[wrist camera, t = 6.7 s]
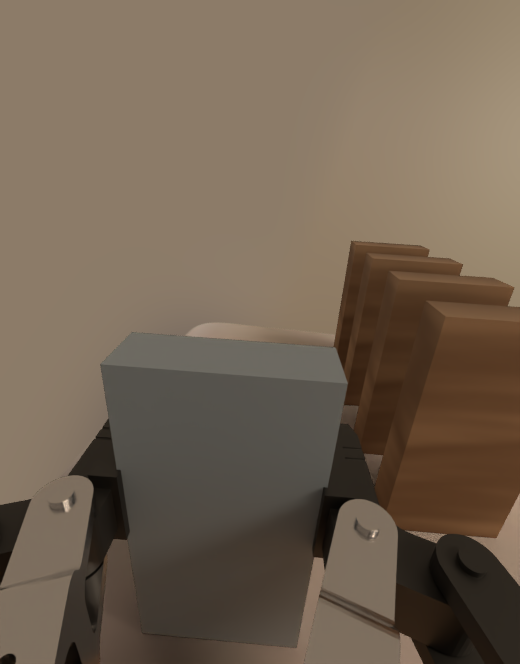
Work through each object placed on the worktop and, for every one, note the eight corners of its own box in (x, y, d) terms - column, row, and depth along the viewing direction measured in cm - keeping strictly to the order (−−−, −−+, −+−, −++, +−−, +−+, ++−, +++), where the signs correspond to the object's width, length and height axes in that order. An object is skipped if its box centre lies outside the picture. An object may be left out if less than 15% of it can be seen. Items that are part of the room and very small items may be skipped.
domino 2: (396, 375, 27) (429, 249, 23) (334, 370, 27) (355, 244, 23) (390, 365, 28) (420, 245, 24) (331, 361, 29) (351, 240, 24)
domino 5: (496, 538, 15) (605, 328, 11) (381, 528, 15) (445, 316, 11) (476, 505, 16) (565, 310, 12) (371, 497, 16) (425, 300, 12)
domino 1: (296, 647, 11) (347, 383, 7) (142, 632, 11) (100, 364, 7) (294, 592, 12) (335, 347, 8) (158, 579, 12) (131, 332, 8)
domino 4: (448, 460, 19) (514, 287, 15) (358, 453, 19) (399, 279, 15) (436, 440, 20) (493, 277, 16) (353, 433, 20) (388, 270, 16)
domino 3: (417, 410, 23) (462, 264, 19) (344, 404, 23) (373, 258, 19) (409, 396, 24) (449, 258, 20) (340, 391, 24) (366, 252, 20)
